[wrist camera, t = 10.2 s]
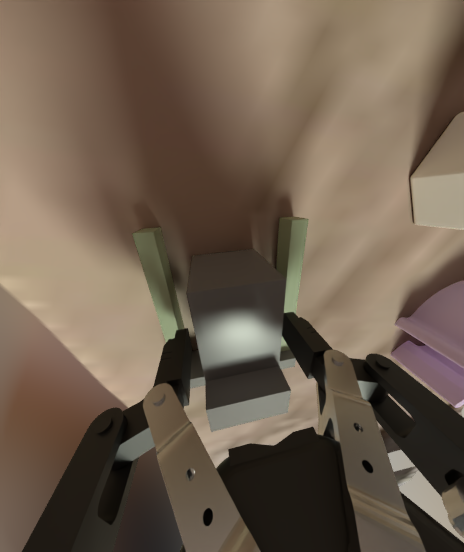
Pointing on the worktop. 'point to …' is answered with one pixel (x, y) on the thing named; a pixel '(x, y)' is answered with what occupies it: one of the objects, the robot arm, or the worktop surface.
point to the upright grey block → (239, 335)
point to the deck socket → (165, 294)
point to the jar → (441, 181)
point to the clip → (437, 343)
